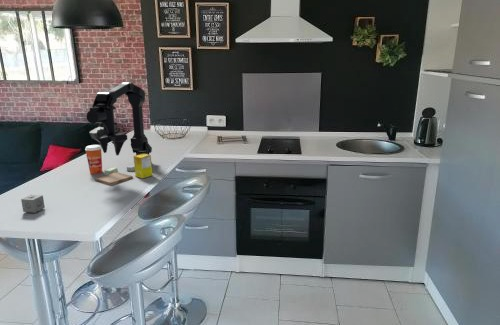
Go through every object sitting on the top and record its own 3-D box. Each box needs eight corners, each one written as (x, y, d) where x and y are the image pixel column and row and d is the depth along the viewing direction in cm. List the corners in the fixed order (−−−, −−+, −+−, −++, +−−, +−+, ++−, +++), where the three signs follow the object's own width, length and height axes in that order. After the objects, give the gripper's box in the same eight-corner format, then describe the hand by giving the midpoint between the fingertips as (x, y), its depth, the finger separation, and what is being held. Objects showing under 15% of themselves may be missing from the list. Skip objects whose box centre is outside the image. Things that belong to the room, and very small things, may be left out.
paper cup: (86, 176, 177) (83, 148, 173) (89, 172, 184) (85, 145, 181) (104, 175, 179) (100, 147, 175) (105, 170, 186) (102, 144, 183)
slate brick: (134, 169, 189) (133, 164, 188) (139, 170, 188) (138, 164, 187) (127, 172, 183) (126, 167, 183) (132, 173, 182) (131, 167, 182)
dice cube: (23, 211, 135) (21, 199, 133) (33, 206, 140) (31, 194, 138) (35, 212, 134) (33, 200, 133) (44, 207, 139) (42, 195, 137)
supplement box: (145, 174, 179) (143, 153, 176) (152, 176, 176) (151, 155, 173) (135, 177, 175) (133, 155, 172) (142, 179, 171) (140, 157, 168)
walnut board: (117, 175, 179) (116, 172, 179) (132, 179, 172) (132, 176, 172) (95, 181, 169) (94, 178, 169) (111, 185, 163) (110, 182, 162)
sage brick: (112, 173, 183) (112, 167, 182) (117, 173, 182) (117, 167, 181) (105, 176, 177) (104, 170, 177) (110, 177, 177) (109, 171, 176)
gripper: (79, 121, 162) (83, 154, 166) (104, 124, 152) (108, 160, 156) (101, 118, 171) (104, 150, 175) (126, 121, 161) (129, 155, 165)
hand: (111, 154), depth 167 cm, fingers open, 9 cm apart
